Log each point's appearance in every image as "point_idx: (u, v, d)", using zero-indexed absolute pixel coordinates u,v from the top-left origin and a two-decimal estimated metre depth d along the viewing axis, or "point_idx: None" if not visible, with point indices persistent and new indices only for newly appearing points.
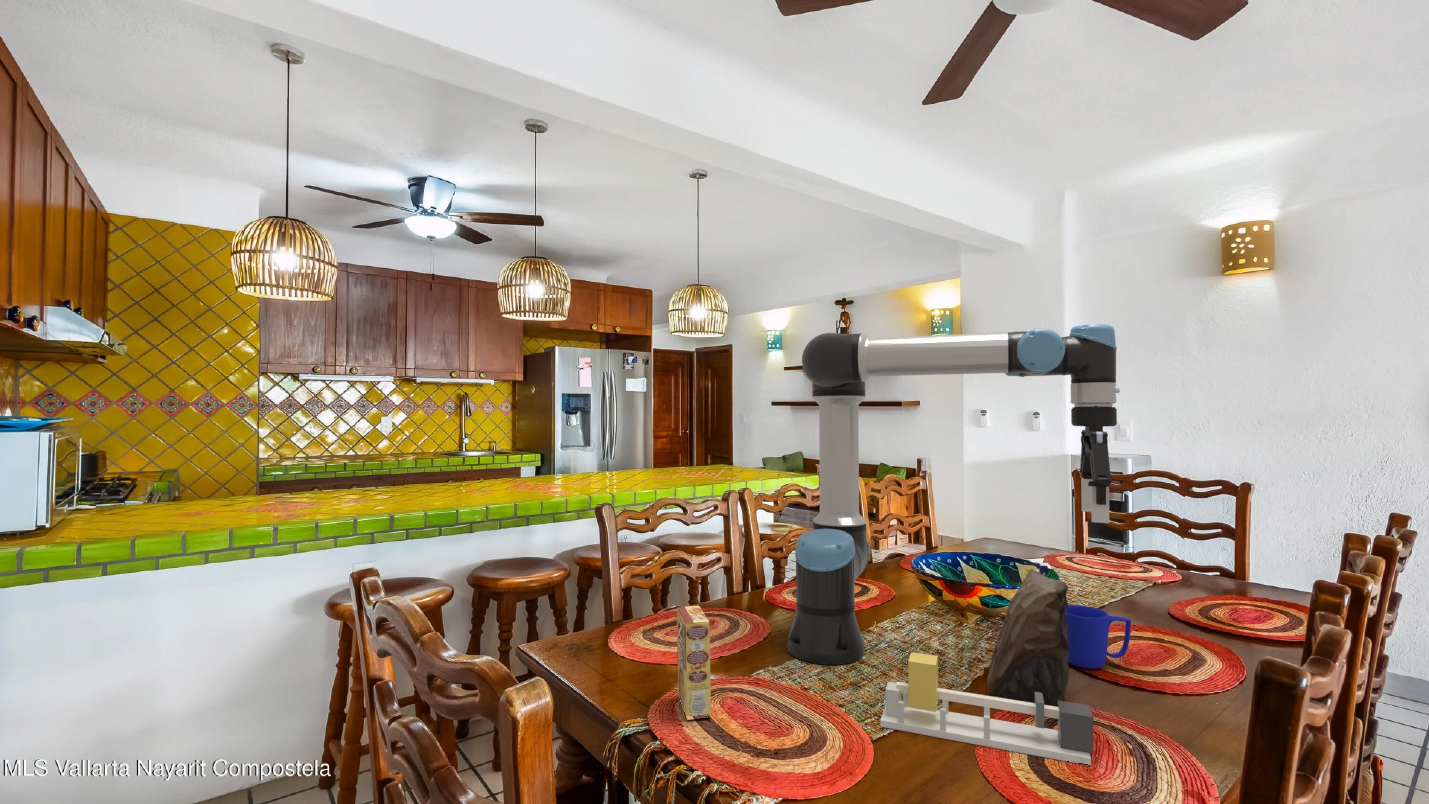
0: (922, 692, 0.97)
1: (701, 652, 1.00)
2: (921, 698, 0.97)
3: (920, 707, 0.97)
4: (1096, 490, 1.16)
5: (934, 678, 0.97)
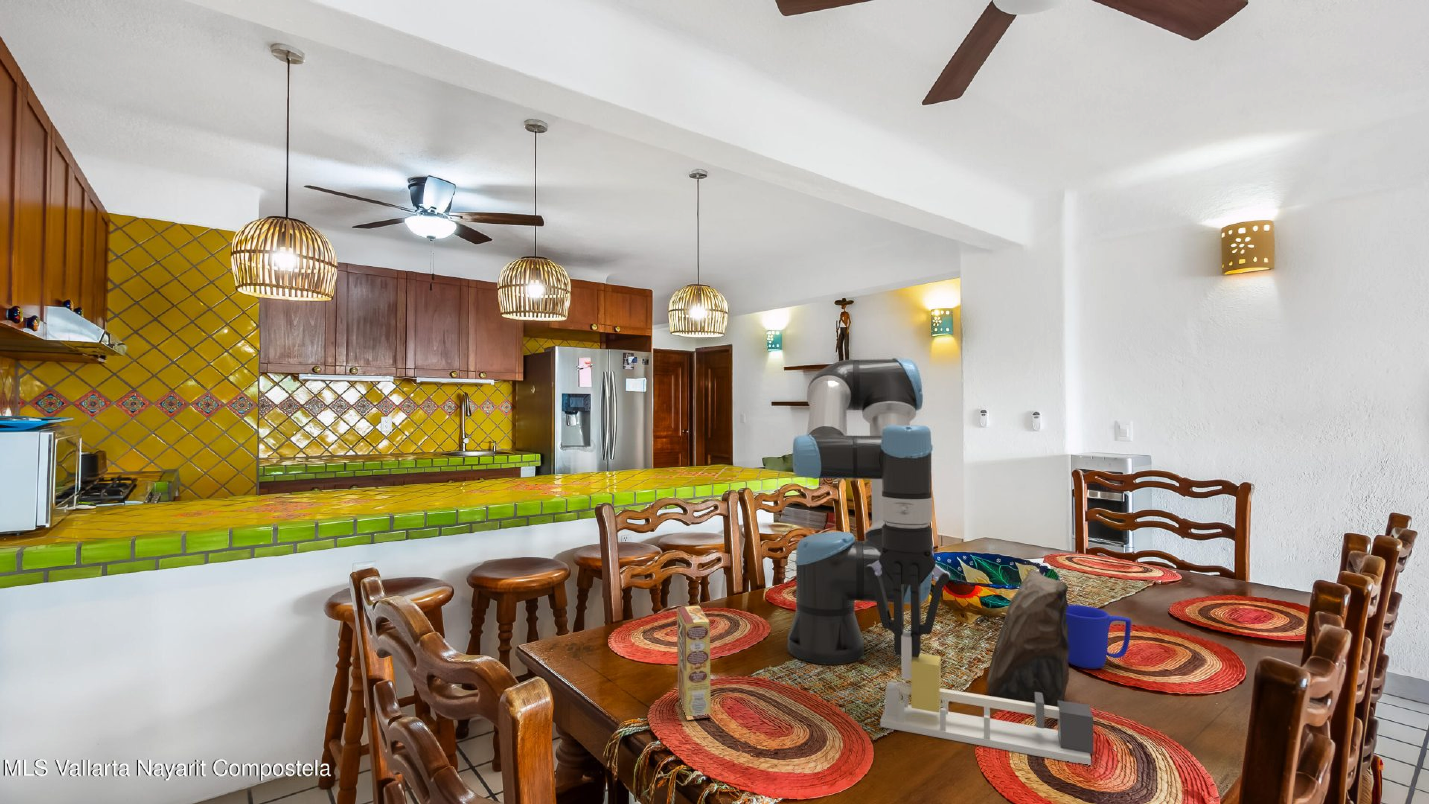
0: (925, 692, 0.97)
1: (701, 652, 1.00)
2: (924, 698, 0.97)
3: (923, 708, 0.97)
4: None
5: (937, 678, 0.96)
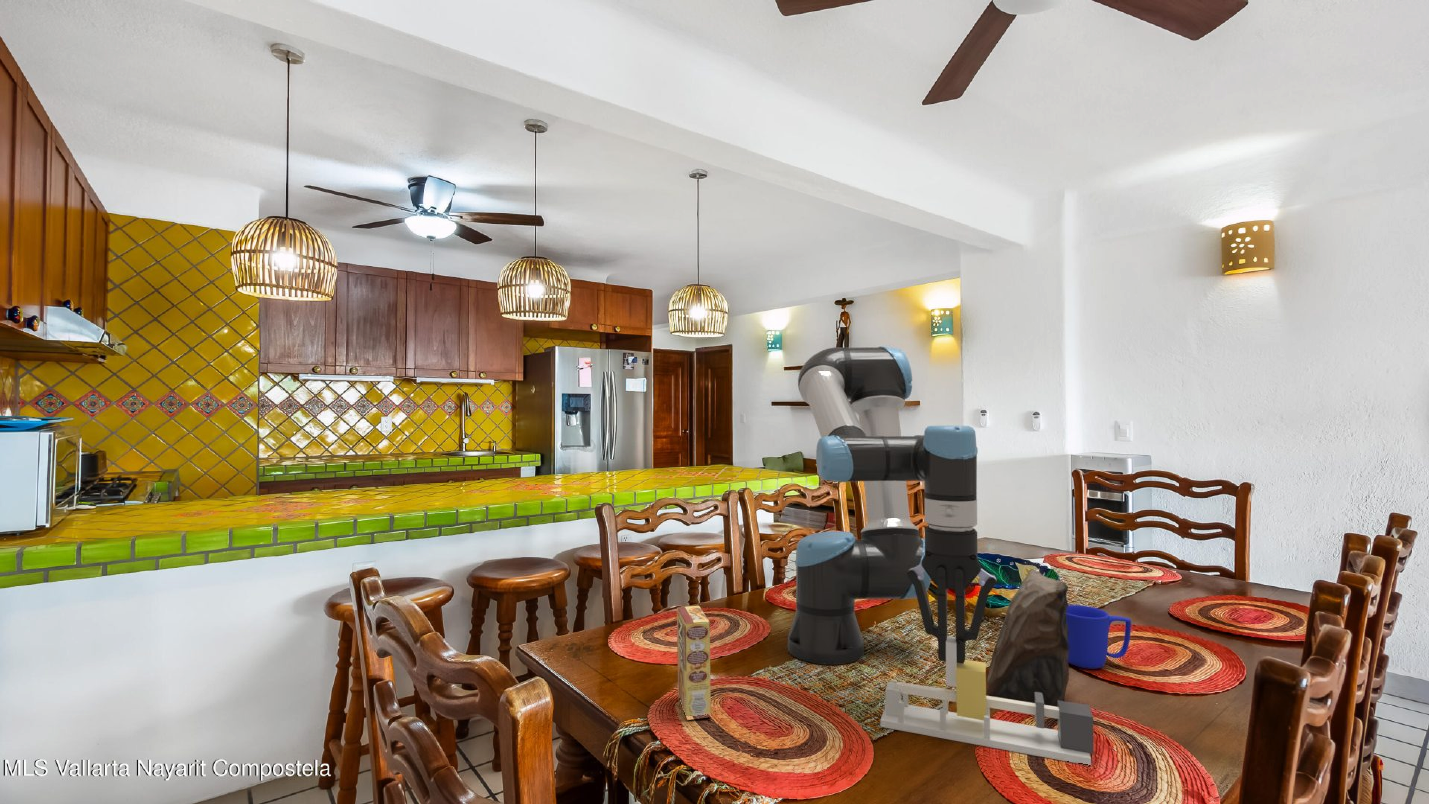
0: (971, 700, 0.94)
1: (701, 652, 1.00)
2: (970, 706, 0.95)
3: (969, 715, 0.95)
4: None
5: (984, 686, 0.94)
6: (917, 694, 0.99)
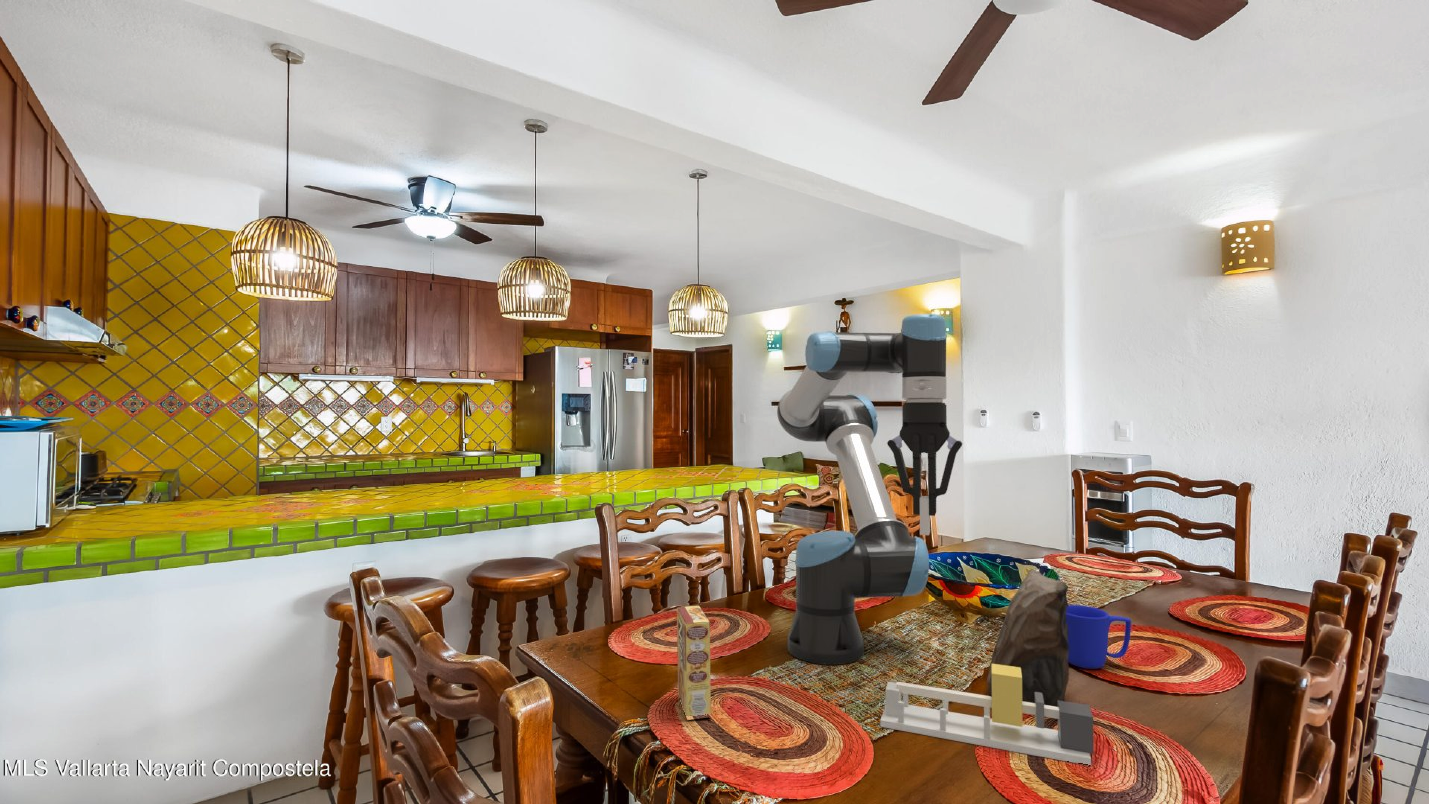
0: (1007, 706, 0.93)
1: (701, 652, 1.00)
2: (1006, 712, 0.93)
3: (1005, 721, 0.93)
4: None
5: (1020, 691, 0.92)
6: (917, 694, 0.99)
